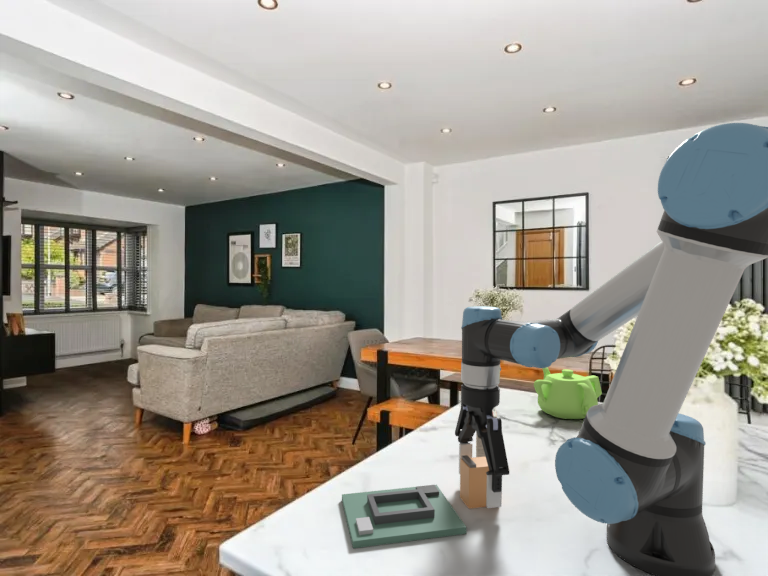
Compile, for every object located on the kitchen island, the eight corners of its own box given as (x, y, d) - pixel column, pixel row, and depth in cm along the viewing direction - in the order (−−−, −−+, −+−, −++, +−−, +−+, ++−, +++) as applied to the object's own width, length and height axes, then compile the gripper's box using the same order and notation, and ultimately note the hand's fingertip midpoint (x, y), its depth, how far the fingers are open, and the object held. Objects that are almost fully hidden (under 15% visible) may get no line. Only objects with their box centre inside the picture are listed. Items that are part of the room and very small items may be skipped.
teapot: (594, 427, 132) (594, 379, 132) (526, 415, 143) (526, 371, 143) (602, 410, 148) (602, 368, 148) (540, 401, 159) (540, 361, 158)
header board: (466, 533, 78) (466, 518, 77) (353, 548, 73) (353, 532, 73) (436, 490, 93) (436, 477, 93) (341, 500, 89) (341, 487, 89)
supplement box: (497, 473, 101) (498, 416, 101) (476, 471, 102) (476, 415, 102) (495, 458, 109) (496, 406, 109) (475, 457, 110) (476, 405, 110)
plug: (499, 505, 87) (500, 462, 87) (468, 508, 86) (469, 465, 86) (489, 494, 92) (490, 453, 91) (460, 497, 90) (460, 455, 90)
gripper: (531, 401, 77) (528, 521, 78) (472, 369, 101) (471, 460, 102) (490, 403, 75) (488, 526, 76) (441, 370, 100) (440, 463, 100)
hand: (478, 488), depth 89 cm, fingers open, 13 cm apart
